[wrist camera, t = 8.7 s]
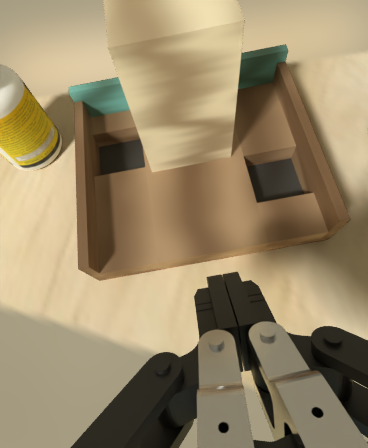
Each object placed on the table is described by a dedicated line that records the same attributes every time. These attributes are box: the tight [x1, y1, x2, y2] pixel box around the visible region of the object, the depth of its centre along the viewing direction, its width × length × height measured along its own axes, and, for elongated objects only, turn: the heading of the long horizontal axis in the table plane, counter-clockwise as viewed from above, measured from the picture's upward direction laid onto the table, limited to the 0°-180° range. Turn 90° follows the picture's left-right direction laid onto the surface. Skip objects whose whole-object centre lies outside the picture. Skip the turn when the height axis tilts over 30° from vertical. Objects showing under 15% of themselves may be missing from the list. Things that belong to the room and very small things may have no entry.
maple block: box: [104, 0, 245, 172], centre depth 20 cm, size 6×6×11 cm
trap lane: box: [69, 45, 350, 281], centre depth 24 cm, size 18×15×5 cm
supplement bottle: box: [0, 64, 62, 171], centre depth 24 cm, size 5×5×10 cm
